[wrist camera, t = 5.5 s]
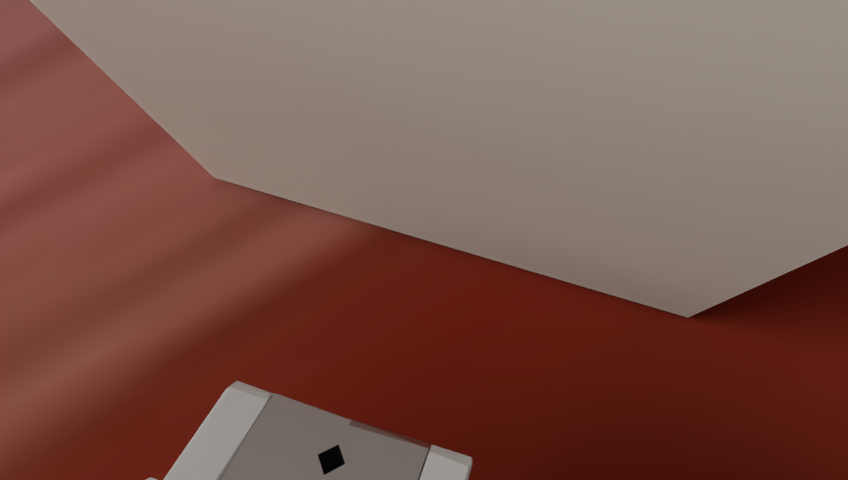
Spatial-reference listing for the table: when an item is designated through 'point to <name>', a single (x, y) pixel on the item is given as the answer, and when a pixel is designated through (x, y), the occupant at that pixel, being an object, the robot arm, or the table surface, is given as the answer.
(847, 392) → the table surface
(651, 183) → the card box
